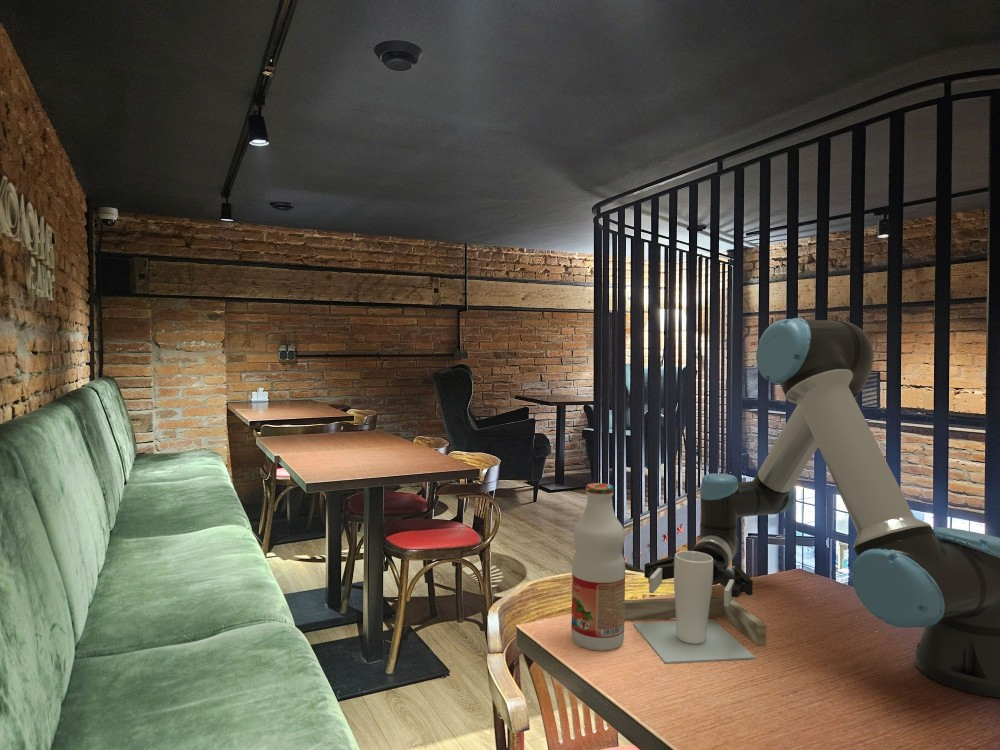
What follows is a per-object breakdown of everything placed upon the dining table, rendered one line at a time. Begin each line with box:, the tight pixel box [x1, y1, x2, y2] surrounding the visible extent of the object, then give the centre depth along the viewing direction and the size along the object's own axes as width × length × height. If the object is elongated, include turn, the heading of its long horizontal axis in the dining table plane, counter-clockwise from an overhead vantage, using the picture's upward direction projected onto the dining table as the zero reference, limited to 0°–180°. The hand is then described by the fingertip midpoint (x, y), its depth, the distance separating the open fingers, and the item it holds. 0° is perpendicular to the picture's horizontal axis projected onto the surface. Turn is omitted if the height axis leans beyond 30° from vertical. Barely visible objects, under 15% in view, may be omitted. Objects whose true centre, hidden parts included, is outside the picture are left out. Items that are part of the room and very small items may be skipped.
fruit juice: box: [570, 482, 626, 652], centre depth 117 cm, size 9×9×28 cm
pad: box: [632, 619, 756, 665], centre depth 118 cm, size 16×16×1 cm
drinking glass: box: [673, 550, 714, 644], centre depth 118 cm, size 7×7×15 cm
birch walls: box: [624, 595, 768, 646], centre depth 122 cm, size 14×24×4 cm, turn 97°
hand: (687, 592), depth 115 cm, fingers open, 12 cm apart
